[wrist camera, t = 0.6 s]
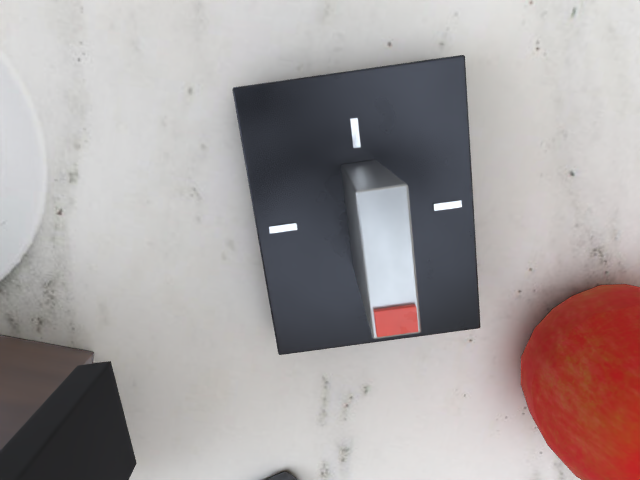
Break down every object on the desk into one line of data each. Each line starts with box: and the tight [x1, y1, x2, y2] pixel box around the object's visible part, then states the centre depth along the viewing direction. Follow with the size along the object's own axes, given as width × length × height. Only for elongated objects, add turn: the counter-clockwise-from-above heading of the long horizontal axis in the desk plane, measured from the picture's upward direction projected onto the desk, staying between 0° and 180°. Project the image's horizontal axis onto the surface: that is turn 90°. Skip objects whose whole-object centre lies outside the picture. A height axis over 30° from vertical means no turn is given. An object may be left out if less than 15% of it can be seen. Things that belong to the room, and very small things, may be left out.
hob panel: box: [233, 55, 480, 355], centre depth 27 cm, size 14×11×3 cm
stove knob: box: [341, 160, 421, 339], centre depth 21 cm, size 6×2×8 cm, turn 8°
